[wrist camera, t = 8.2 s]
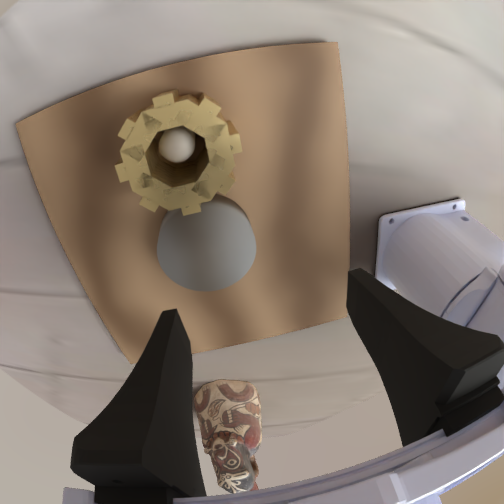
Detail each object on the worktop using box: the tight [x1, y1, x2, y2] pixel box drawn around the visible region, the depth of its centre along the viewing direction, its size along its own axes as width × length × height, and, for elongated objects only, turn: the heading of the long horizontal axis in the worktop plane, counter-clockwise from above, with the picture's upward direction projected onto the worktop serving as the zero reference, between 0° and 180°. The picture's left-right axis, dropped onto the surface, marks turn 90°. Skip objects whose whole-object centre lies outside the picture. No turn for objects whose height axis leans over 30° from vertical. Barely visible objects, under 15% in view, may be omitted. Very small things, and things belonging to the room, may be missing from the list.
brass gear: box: [115, 89, 242, 216], centre depth 15 cm, size 6×6×4 cm
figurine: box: [194, 379, 262, 493], centre depth 28 cm, size 7×7×12 cm
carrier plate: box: [16, 42, 350, 364], centre depth 20 cm, size 20×22×5 cm
